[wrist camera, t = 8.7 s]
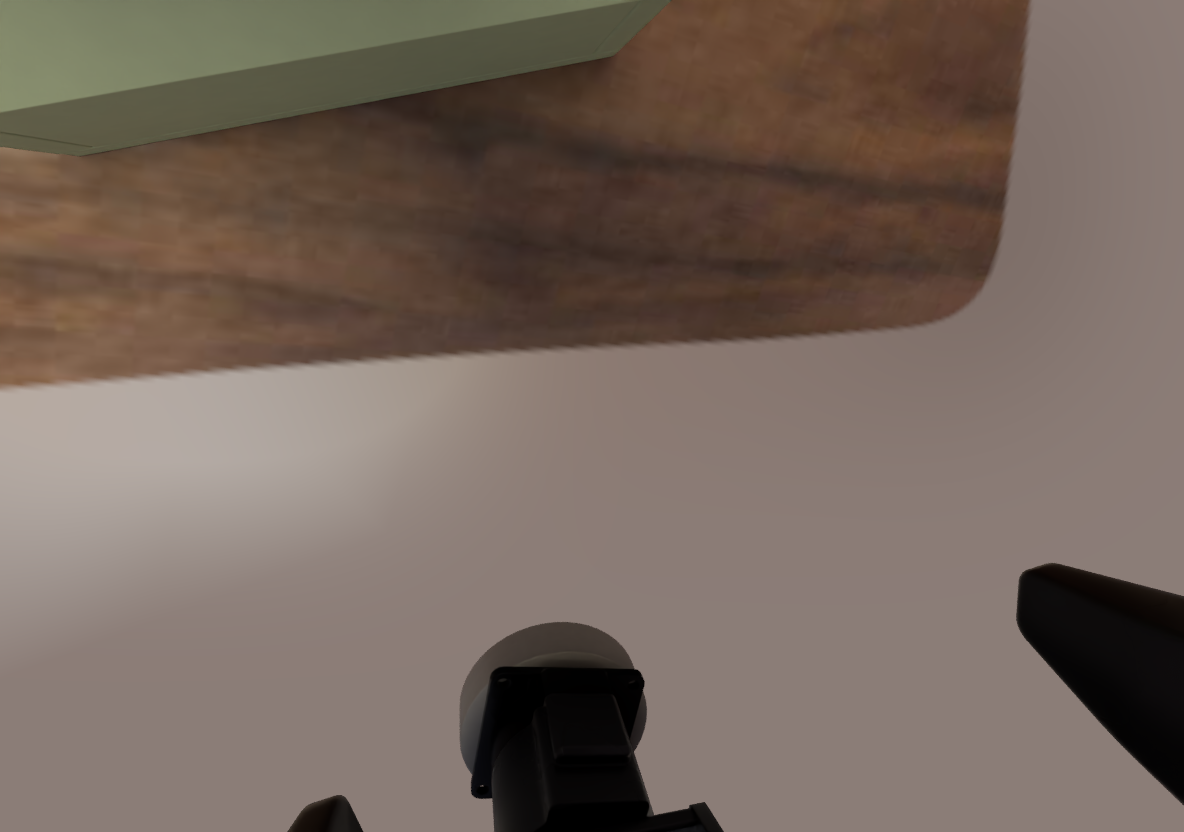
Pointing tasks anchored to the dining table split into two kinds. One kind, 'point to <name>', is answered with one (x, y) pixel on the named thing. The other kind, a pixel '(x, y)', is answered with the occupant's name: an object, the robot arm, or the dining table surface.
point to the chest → (323, 82)
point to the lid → (213, 37)
